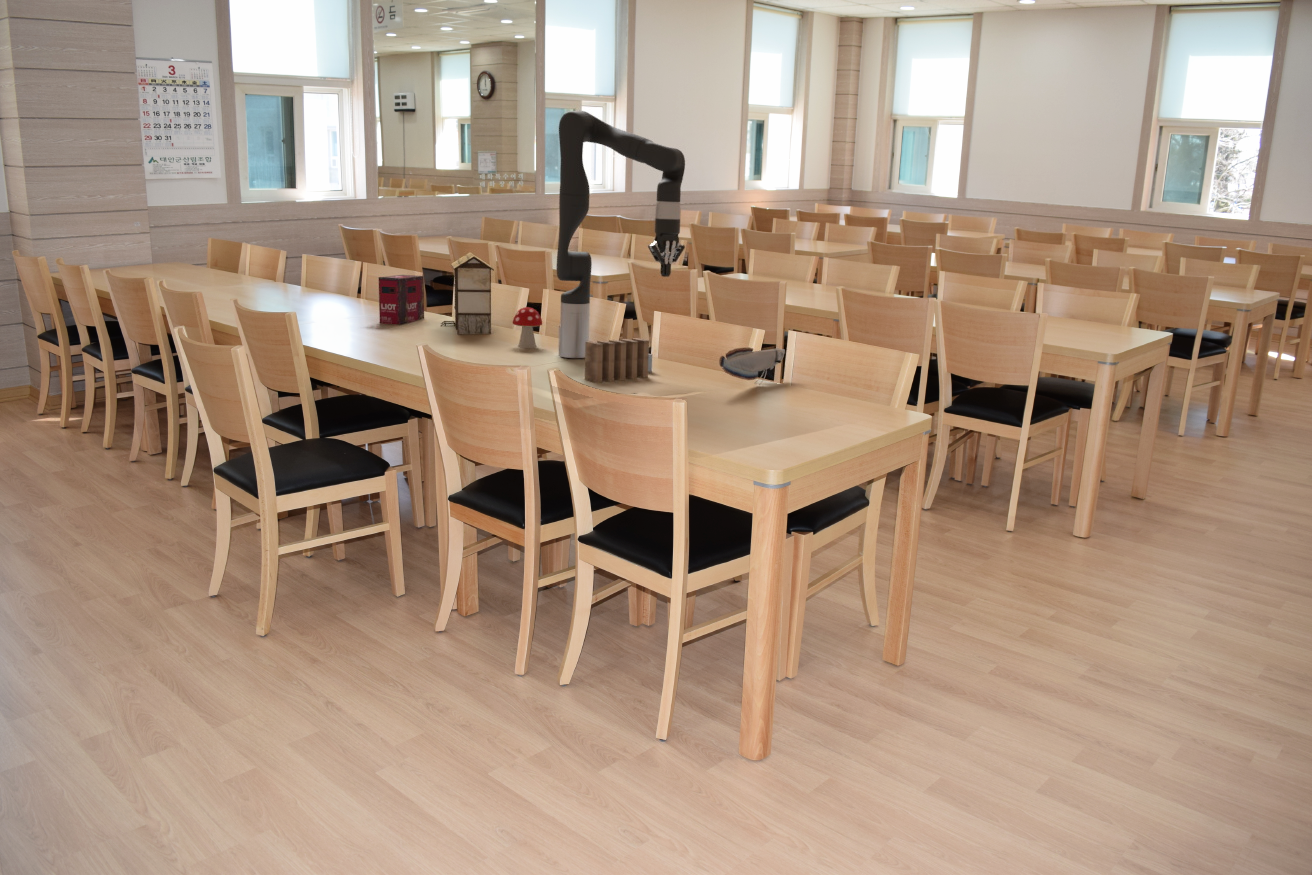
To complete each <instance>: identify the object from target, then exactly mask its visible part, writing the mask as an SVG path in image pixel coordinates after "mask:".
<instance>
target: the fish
mask: <svg viewBox="0 0 1312 875" xmlns="http://www.w3.org/2000/svg"><path fill="white" fill-rule="evenodd" d="M785 354H786V350H785V349H784V348H778V347H777V348H772V349H771V348H770V349H762V350H755V351H754V348H752V347H739V348H734V349H732V350H729V351H728V352H726V353H725V356H724V355H721V356H720V357H719V359H718V360H719V361H718V364H719V366H720V368H722V370H723V372H724V373H725V374H727V375H729V376H731V377H734V378H738V379H740V380H745V381H754V380H756V379H757V378H758V377H759V372H762V371H763V372H762V374H761V376H760V377H759V378H758V379H757V380H756V381H755V382H754V384H757V382H758V381H759V380H761V378H762V377H763V376H764V377H763V379H762V380H761V381H760V383H758V386H759V385H761V384H762V383H763V382H764V381H765V378H766V375H767V372H768V371H767V370H768V369H769V371H771V370H774V368H775V366H776V365H778V364H781V362H782V360H783V358H784V356H785ZM764 373H765V374H764Z"/></svg>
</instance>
